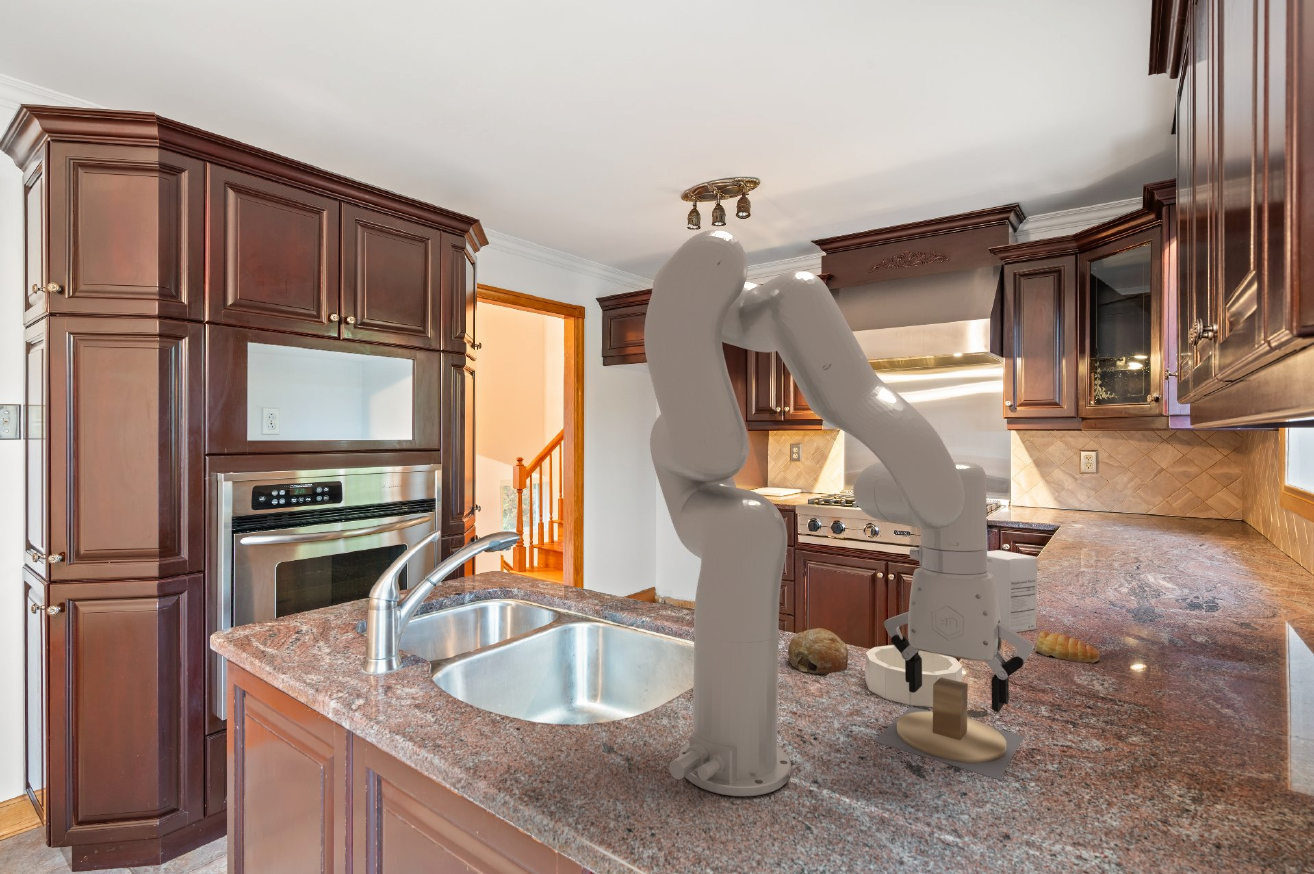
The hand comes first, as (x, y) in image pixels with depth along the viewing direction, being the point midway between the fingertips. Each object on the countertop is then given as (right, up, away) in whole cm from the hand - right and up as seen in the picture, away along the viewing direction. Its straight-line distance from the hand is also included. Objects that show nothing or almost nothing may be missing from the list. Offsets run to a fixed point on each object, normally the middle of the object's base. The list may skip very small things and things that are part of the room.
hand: (955, 698), depth 81 cm
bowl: (+1, -6, +16) cm, 17 cm away
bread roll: (-10, -6, +28) cm, 30 cm away
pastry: (+36, -7, +36) cm, 51 cm away
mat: (-1, -6, 0) cm, 6 cm away
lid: (-1, -5, 0) cm, 5 cm away
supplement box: (+34, -7, +54) cm, 64 cm away
